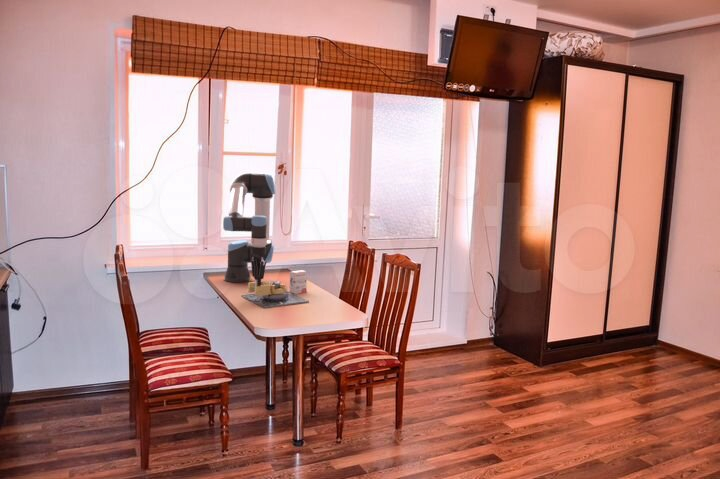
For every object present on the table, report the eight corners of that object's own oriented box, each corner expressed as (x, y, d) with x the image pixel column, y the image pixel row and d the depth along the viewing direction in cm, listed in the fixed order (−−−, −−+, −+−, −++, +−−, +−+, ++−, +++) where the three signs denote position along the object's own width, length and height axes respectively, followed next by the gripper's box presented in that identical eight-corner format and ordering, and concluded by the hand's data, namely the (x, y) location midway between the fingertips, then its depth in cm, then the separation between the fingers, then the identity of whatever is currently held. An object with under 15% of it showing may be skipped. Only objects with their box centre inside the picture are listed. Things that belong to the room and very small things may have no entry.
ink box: (301, 290, 330) (301, 269, 328) (306, 292, 326) (307, 271, 325) (288, 292, 324) (289, 271, 322) (294, 294, 320) (295, 272, 319)
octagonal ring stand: (279, 288, 314) (279, 279, 313) (289, 292, 305) (289, 283, 304) (247, 291, 303) (247, 282, 302) (257, 296, 294) (257, 286, 293)
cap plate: (241, 296, 309) (241, 279, 308) (284, 291, 325) (285, 275, 323) (263, 308, 289) (264, 290, 287) (309, 302, 304) (309, 285, 303)
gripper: (245, 244, 299) (245, 289, 302) (258, 248, 289) (257, 295, 292) (259, 243, 303) (258, 288, 307) (271, 247, 293) (270, 293, 297)
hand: (257, 291), depth 299 cm, fingers closed
